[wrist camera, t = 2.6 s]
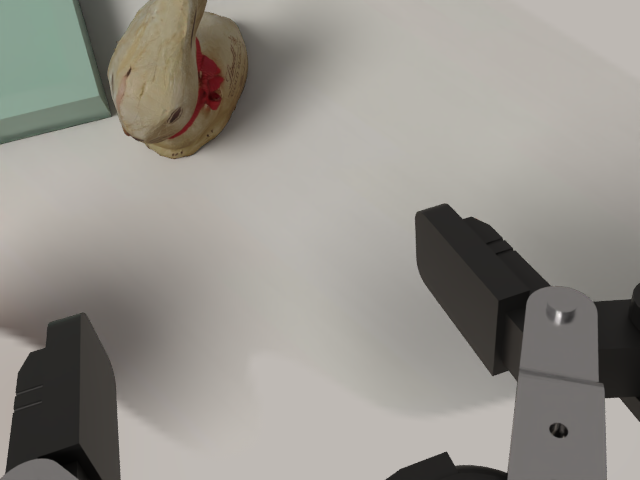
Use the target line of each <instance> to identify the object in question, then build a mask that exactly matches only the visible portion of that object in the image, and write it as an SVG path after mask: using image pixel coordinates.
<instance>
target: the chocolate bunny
mask: <svg viewBox="0 0 640 480" xmlns="http://www.w3.org/2000/svg"><path fill="white" fill-rule="evenodd" d="M206 3H207V0H150V1H148V2H147V3H146V4H145V5H144V6H143V7H142V8H141V9H140V10H139V11H138V12H137V14H136V16H135V18H134V19H133V20H132V22H131V23H130V25H129V27H128V29H127V31H126V32H125V33H124V35H123V36H122V38H121V39H120V41H119V42H118V44H117V47H116V49H114V50H115V52H114V54H113V55H112V57H111V60H110V63H109V67H108V71H107V76H108V80H109V84H110V90H111V95H112V99H113V102H114V105H115V108H116V110H117V114H118V117H119V120H120V122H121V124H122V128H123V131H124V133H125V134H126V135H127V136H132V137H133V138H134V139H135V140H137V141H140V142H143V143H145V144H146V146H147V147H148V148H149V149H152V150H154V151H155V152H157V153H158V154H159V155H160V156H165V157H168V158H171V159H172V158H173V159H176V158H179V157H184V156H190V155H192V154H194V153H195V152H196V151H197V150H198V149H199V148H200V147H202V146H203V145H204V144H206V143H207V142H209V141H210V140H212V139H214V138H215V137H216V136H217V135H218V134H219V133H220V132H221V131H222V130H223V128H224V127H225V125H226V124H227V122H228V121H229V119H230V116H231V114H232V112H233V110H235V108H236V104H237V102H238V100H239V98H240V96H241V93H242V91H243V88H244V85H245V82H246V78H247V71H248V58H247V52H246V46H245V43H244V40H243V38H242V36H241V33H240V31H239V28H238V27H237V25H236V24H235V23H234V22H233V21H232V20H231V19H229V18H227V17H221V16H219V15H217V14H214V13H210V12H204V10H205V7H206Z"/></svg>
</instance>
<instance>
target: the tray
mask: <svg viewBox="0 0 640 480" xmlns="http://www.w3.org/2000/svg"><path fill="white" fill-rule="evenodd" d="M108 117H112V116H111V113H110V109H109V106H108V102H107V99H106V95H105V92H104V88H103V85H102V81H101V78H100V74H99V71H98V67H97V64H96V60H95V57H94V53H93V50H92V46H91V43H90V39H89V36H88V32H87V29H86V25H85V22H84V18H83V15H82V11H81V8H80V4H79V1H78V0H0V144H3V143H7V142H11V141H15V140H19V139H23V138H27V137H31V136H35V135H39V134H43V133H47V132H51V131H55V130H59V129H63V128H68V127H72V126H76V125H80V124H84V123H88V122H92V121H96V120H100V119H104V118H108Z"/></svg>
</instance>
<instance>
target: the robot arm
mask: <svg viewBox="0 0 640 480" xmlns="http://www.w3.org/2000/svg"><path fill="white" fill-rule="evenodd" d="M415 230H416V258H417V266H418V270H419V273H420V275H421V278H422V280H423V282H424V283H425V285H426V286H427V288H428V289H429V290H430V292H431V293H432V294H433V296H434V297H435V298H436V300H437V301H438V303H439V304H440V305H441V307H442V308H443V309H444V311H445V312H446V313H447V315H448V316H449V318H450V319H451V320H452V322H453V323H454V324H455V326H456V327H457V328H458V330H459V331H460V332H461V334H462V335H463V337H464V338H465V339H466V341H467V342H468V343H469V345H470V346H471V347H472V349H473V350H474V351H475V353H476V354H477V356H478V357H479V358H480V360H481V361H482V362H483V364H484V365H485V366H486V368H487V369H488V370H489V372H490V373H491V375H492V376H495V375H497V374H500V373H503V372H506V371H510V373H511V374H512V375H513V377H514V378H515V379H516V381H517V391H516V400H515V409H514V418H513V427H512V436H511V445H510V454H509V464H508V472H507V473H505V472H503V471H500V470H496V469H492V468H488V467H482V466H474V465H459V466H455V465H454V464H453V462H452V460H451V458H450V457H449V455H448V453H447V452H444V453H442V454H439V455H437V456H434V457H431V458H429V459H426V460H423V461H421V462H418V463H415V464H413V465H410V466H408V467H405V468H402V469H400V470H399V471H397V472H396V473H395V474H393V475H392V476H390V477H389V478H387V479H386V480H607V467H606V427H605V398H617V397H619V398H620V399H621V400H622V401H623V402H624V404H625V405H626V406H627V407H628V409H629V410H630V411H631V412H632V413H633V415H634V416H635V417H636V418H637V419H638V420H639V422H640V283H639V284H638V285H637V286H636V287H635V289H634V292H633V296H632V299H630V300H614V301H599V302H593V301H592V300H591V299H590V298H589V297H587V296H586V295H585V294H583V293H581V292H579V291H577V290H575V289H571V288H568V287H562V286H550V285H549V284H548V283H547V282H546V281H545V280H544V279H543V278H542V277H541V276H540V275H539V274H538V273H537V272H536V271H535V270H534V269H533V268H532V267H531V266H530V265H529V264H528V263H527V262H526V261H525V260H524V259H523V258H522V257H521V256H520V255H519V254H518V253H517V252H516V251H513V248H512V247H511V246H510V245H509V244H508V243H507V242H506V241H505V240H504V241H503V239H502V237H501V236H500V235H499V234H498V233H497V232H496V231H495V230H494V229H493V228H492V227H491V226H490V225H488V224H486V223H484V222H482V221H479V220H477V219H475V218H473V217H469V218H465V219H462V218H461V217H460V216H459V215H458V214H457V213H456V212H455V211H454V210H453V209H452V208H451V207H450V206H449V205H448V204H441V205H438V206H435V207H431V208H428V209H425V210H421V211H418V212H417V213H416V216H415ZM0 480H121V479H120V460H119V440H118V421H117V401H116V383H115V377H114V373H113V369H112V366H111V363H110V360H109V358H108V356H107V354H106V352H105V350H104V348H103V346H102V344H101V342H100V340H99V338H98V336H97V334H96V332H95V330H94V328H93V326H92V324H91V322H90V320H89V319H88V317H87V315H86V314H85V313H80V314H77V315H73V316H70V317H67V318H63V319H60V320H56V321H53V322H50V323H49V324H48V327H47V339H46V348H43V349H40V350H37V351H34V352H30V354H29V356H28V357H27V359H26V361H25V362H24V364H23V366H22V367H21V369H20V371H19V372H18V378H17V386H16V397H15V402H14V413H13V418H12V426H11V433H10V442H9V449H8V458H7V466H6V472H5V475H4V476H3V477H2V478H1V479H0Z"/></svg>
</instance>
